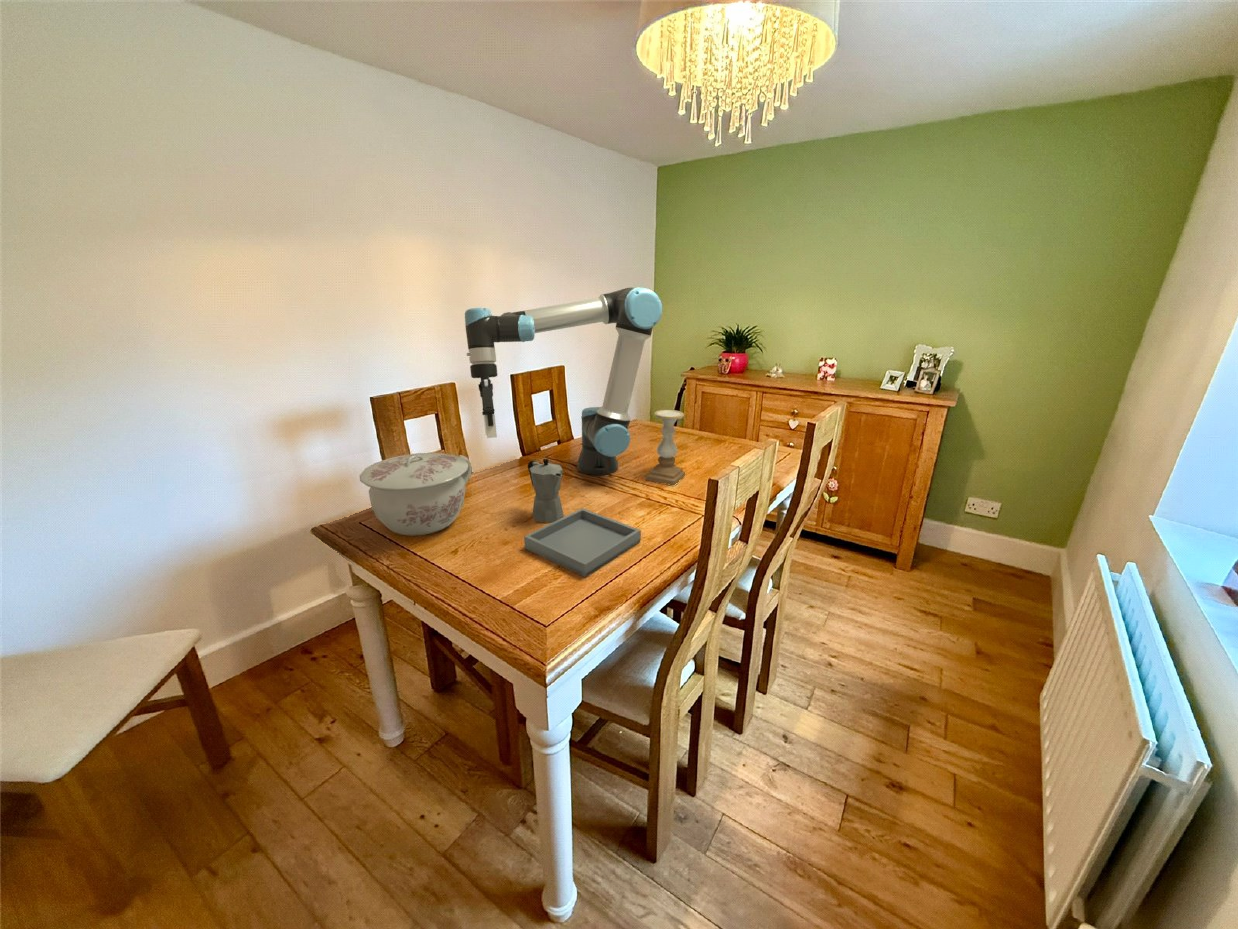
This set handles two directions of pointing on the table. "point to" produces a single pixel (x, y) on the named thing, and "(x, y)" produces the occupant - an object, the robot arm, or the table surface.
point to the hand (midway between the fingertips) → (491, 436)
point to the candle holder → (667, 451)
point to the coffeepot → (546, 491)
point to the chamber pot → (417, 491)
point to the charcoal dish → (582, 541)
